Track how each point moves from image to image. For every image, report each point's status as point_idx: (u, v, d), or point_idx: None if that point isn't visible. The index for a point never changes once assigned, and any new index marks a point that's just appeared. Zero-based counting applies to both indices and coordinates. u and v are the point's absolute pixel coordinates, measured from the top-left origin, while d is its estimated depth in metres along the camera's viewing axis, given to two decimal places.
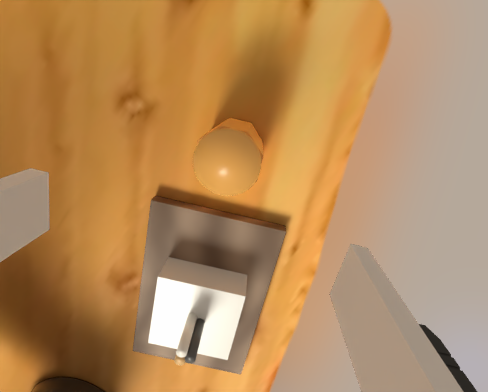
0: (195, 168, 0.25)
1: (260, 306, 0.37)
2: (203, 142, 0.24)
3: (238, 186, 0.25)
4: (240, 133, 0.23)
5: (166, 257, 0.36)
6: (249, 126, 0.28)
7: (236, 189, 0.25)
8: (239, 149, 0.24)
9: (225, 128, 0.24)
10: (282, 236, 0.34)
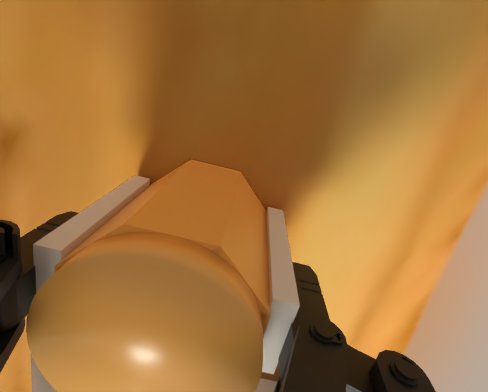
0: (42, 364, 0.07)
1: None
2: (52, 293, 0.06)
3: None
4: (185, 268, 0.06)
5: None
6: (231, 195, 0.10)
7: None
8: (185, 318, 0.07)
9: (133, 242, 0.06)
10: None
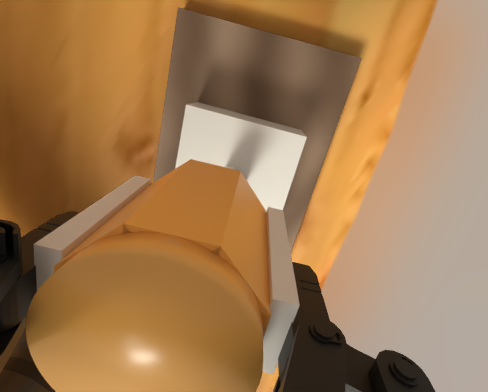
0: (41, 364, 0.07)
1: (314, 179, 0.28)
2: (52, 293, 0.06)
3: None
4: (185, 269, 0.06)
5: (194, 102, 0.27)
6: (231, 195, 0.10)
7: None
8: (184, 318, 0.07)
9: (133, 242, 0.06)
10: (355, 66, 0.25)
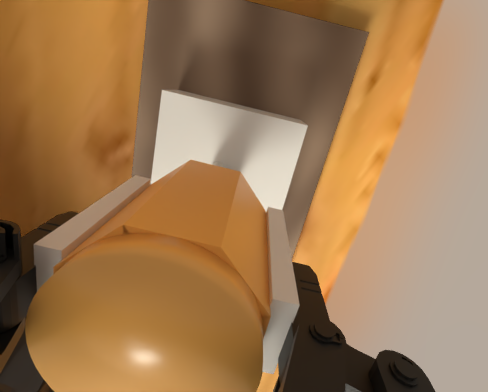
0: (41, 365, 0.07)
1: (316, 177, 0.25)
2: (51, 294, 0.06)
3: None
4: (184, 270, 0.06)
5: None
6: (231, 195, 0.10)
7: None
8: (184, 319, 0.07)
9: (132, 243, 0.06)
10: (362, 42, 0.21)
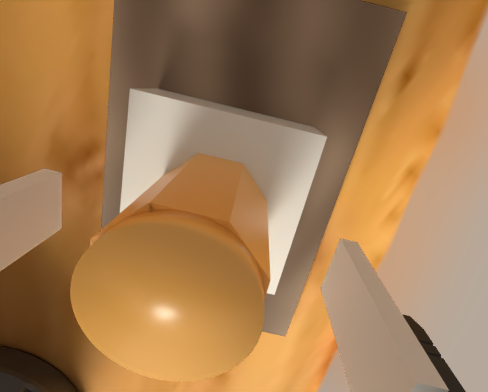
0: (81, 319, 0.09)
1: (333, 198, 0.20)
2: (93, 258, 0.08)
3: (202, 363, 0.09)
4: (201, 236, 0.08)
5: None
6: (236, 183, 0.12)
7: (199, 369, 0.09)
8: (200, 278, 0.08)
9: (158, 216, 0.08)
10: (397, 26, 0.16)
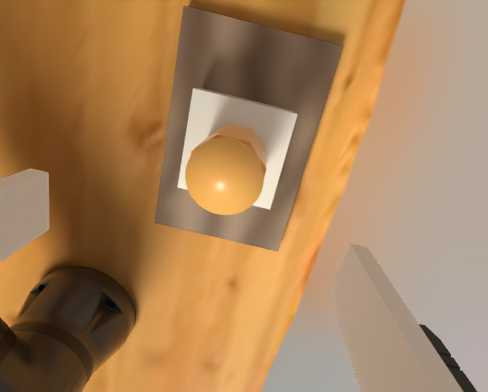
0: (188, 183, 0.21)
1: (306, 155, 0.32)
2: (197, 154, 0.21)
3: (237, 204, 0.22)
4: (240, 144, 0.20)
5: None
6: (250, 134, 0.24)
7: (236, 208, 0.22)
8: (238, 162, 0.21)
9: (222, 138, 0.20)
10: (338, 53, 0.28)
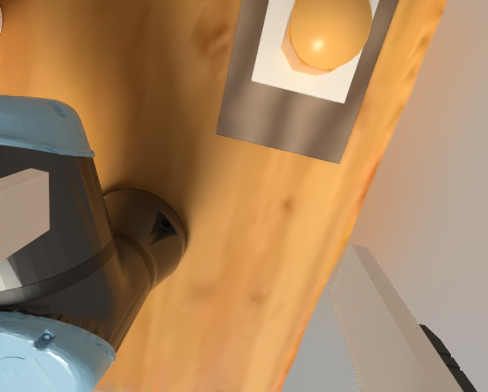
0: (293, 32, 0.21)
1: (376, 55, 0.32)
2: None
3: (341, 55, 0.21)
4: None
5: None
6: None
7: (339, 59, 0.22)
8: (348, 4, 0.20)
9: None
10: None
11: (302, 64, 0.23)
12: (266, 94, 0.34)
